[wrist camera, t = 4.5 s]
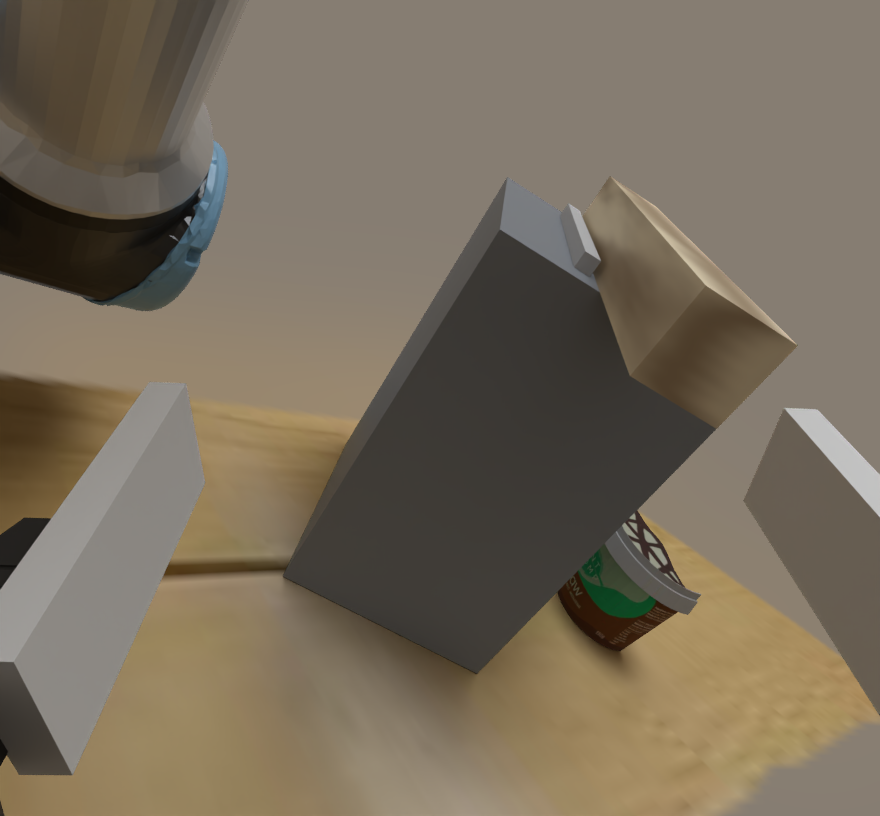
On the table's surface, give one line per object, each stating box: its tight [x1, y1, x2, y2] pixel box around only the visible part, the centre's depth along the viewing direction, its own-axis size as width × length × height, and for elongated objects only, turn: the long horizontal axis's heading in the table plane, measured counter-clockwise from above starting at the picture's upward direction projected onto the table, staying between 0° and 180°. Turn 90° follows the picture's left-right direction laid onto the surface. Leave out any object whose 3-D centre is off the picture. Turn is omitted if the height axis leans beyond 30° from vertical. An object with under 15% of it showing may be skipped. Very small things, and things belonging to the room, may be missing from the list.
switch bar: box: [582, 176, 798, 429], centre depth 33 cm, size 4×26×4 cm, turn 175°
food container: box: [558, 511, 701, 651], centre depth 56 cm, size 12×6×10 cm, turn 17°
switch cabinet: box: [283, 178, 716, 673], centre depth 46 cm, size 16×19×29 cm
